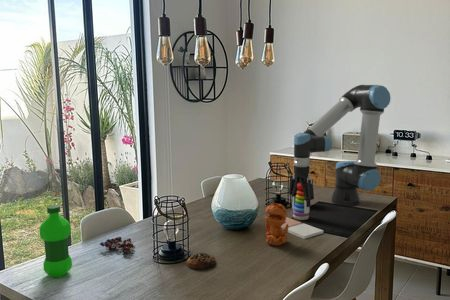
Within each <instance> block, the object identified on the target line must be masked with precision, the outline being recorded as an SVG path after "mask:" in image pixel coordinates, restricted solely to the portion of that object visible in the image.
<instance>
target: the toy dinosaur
mask: <svg viewBox="0 0 450 300" xmlns="http://www.w3.org/2000/svg"><path fill="white" fill-rule="evenodd" d="M265 212H266V214H268V215H266V216H264V218H263V219H264V221H266V223H265V225H264V226H265V227H264V228H265V230H266V231H267V232H266V233H265V234H264V239H265V244H267V243H269V244H270V245H271V246H281V245H283V244H285V243H287V239H288V235H287V234H288V227H289V226H288V224H287V225H286V227H285V230H282V227H281V226H282V225H283V224H284V223H286V222H285V220H286V217H288V215H289V214H288V213H287V209H286V207H285V205H283V204H281V203H275V202H273V201H272V202H271V204H269V205H267V206H266V208H265Z"/></svg>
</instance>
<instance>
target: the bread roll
mask: <svg viewBox="0 0 450 300" xmlns="http://www.w3.org/2000/svg"><path fill="white" fill-rule="evenodd" d="M186 265H187V266H188V267H189V268H190V269H194V270H202V269H204V270H209V269H208V268H210V269H212V268H214V266H215V265H216V258H215V256H214V255H212V254H210V253H207V252H198V253H196V254H193V255H191V256H190V257H189V258H188V259H187V260H186Z"/></svg>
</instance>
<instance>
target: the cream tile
mask: <svg viewBox="0 0 450 300" xmlns="http://www.w3.org/2000/svg"><path fill="white" fill-rule="evenodd" d="M288 233H289V234H291V235H293V236H296V237H298V238H301V239H303V240H305V239H309V238H312V237H315V236H318V235H321V234H324V230H323V229H320V228H317V227H314V226H312V225H309V224H307V223H302V224H300V225H296V226H293V227H289V228H288V232H287V234H288Z"/></svg>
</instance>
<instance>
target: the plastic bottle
mask: <svg viewBox="0 0 450 300" xmlns="http://www.w3.org/2000/svg"><path fill="white" fill-rule="evenodd" d="M46 208H47V210H46V211H47V213H48V214H49V216H48V217H47V218H45V220H44V221H42V223H41V224H40V226H39V237H40V239H41V240H43V241H44V252H45V253H44V254H45V255H44V256H45V258H44V260H43V263H42V265H43V271H44V273H45V274H46V275H49V276H50V277H51V276H52V278H54V277H56V278H61V277H60V276H62V277H64V276H66V275H67V273H68V272H69V271H71V269H72V267H73V261H72V260H73V259H72V257H71V255H70V254H69V239H68V238H69V236H70V235H71V231H72V229H71V228H72V227H71V223H70V221H69V220H67V219H66V218H65V217H64V216H61V215H60V212H61V205H58V204H53V205H49V206H46Z"/></svg>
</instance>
